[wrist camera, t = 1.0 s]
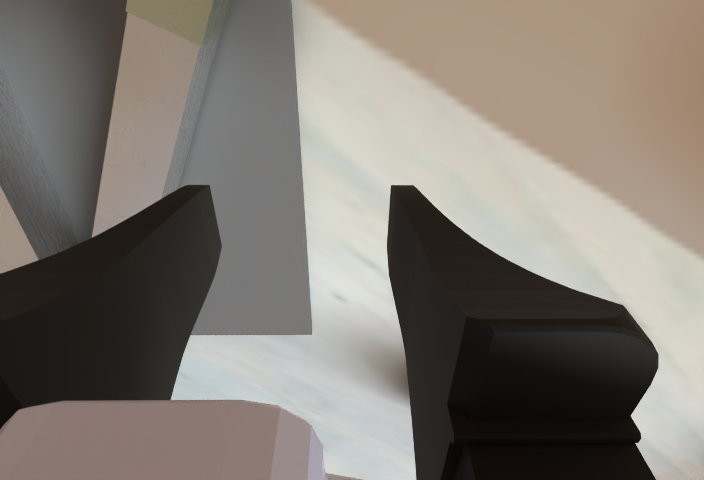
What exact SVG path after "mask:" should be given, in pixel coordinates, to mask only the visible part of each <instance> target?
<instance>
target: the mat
mask: <svg viewBox="0 0 704 480" xmlns="http://www.w3.org/2000/svg"><path fill="white" fill-rule="evenodd" d="M126 5H127V0H0V61H1V63H2V66H3V68H4V70H5V73H6V75H7V77H8V79H9V82H10V84H11V86H12V89H13V91H14V93H15V96H16V98H17V100H18V102H19V105H20V107H21V109H22V112H23V114H24V116H25V119H26V121H27V123H28V125H29V128H30V130H31V132H32V135H33V137H34V139H35V142H36V144H37V146H38V148H39V151H40V153H41V155H42V158H43V160H44V162H45V165H46V167H47V169H48V171H49V174H50V176H51V178H52V181H53V183H54V185H55V187H56V190H57V192H58V194H59V197H60V199H61V201H62V204H63V206H64V208H65V210H66V213H67V215H68V217H69V220H70V222H71V224H72V227H73V229H74V231H75V233H76V236H77V238H78V240H79V243H82V242H84V241H86V240H88V239H90V238H92V233H93V227H94V221H95V214H96V208H97V202H98V195H99V189H100V183H101V177H102V170H103V164H104V158H105V151H106V145H107V139H108V133H109V126H110V120H111V114H112V108H113V101H114V95H115V89H116V82H117V76H118V70H119V64H120V57H121V51H122V45H123V38H124V32H125V26H126V20H127V13H128V12H126ZM186 185H210V189H211V194H212V199H213V204H214V209H215V214H216V219H217V224H218V229H219V234H220V239H221V243H222V249H221V253H220V258H219V262H218V266H217V270H216V274H215V277H214V279H213V282H212V285H211V287H210V289H209V292H208V294H207V297H206V299H205V302H204V304H203V306H202V309H201V311H200V313H199V316H198V318H197V321H196V323H195V325H194V328H193V330H192V332H191V335H312V320H311V304H310V289H309V273H308V257H307V241H306V226H305V210H304V194H303V178H302V163H301V147H300V131H299V115H298V100H297V84H296V68H295V53H294V37H293V21H292V5H291V0H231V4H230V7H229V11H228V14H227V18H226V22H225V25H224V29H223V31H222V32H221V34H220V37H219V41H218V45H217V48H216V52H215V56H214V59H213V63H212V66H211V70H210V74H209V77H208V81H207V85H206V88H205V92H204V96H203V99H202V103H201V106H200V110H199V114H198V117H197V121H196V125H195V128H194V132H193V135H192V139H191V143H190V146H189V150H188V154H187V157H186V161H185V164H184V168H183V172H182V175H181V179H180V183H179V186H178V189H179V188H181V187H183V186H186Z"/></svg>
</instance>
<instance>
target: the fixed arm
mask: <svg viewBox="0 0 704 480" xmlns="http://www.w3.org/2000/svg"><path fill="white" fill-rule="evenodd" d="M77 244H79V240H78V238H77V236H76V233H75V231H74V229H73V227H72V224H71V222H70V220H69V217H68V215H67V213H66V210H65V208H64V206H63V204H62V201H61V199H60V197H59V194H58V192H57V190H56V187H55V185H54V183H53V181H52V178H51V176H50V174H49V171H48V169H47V167H46V165H45V162H44V160H43V158H42V155H41V153H40V151H39V148H38V146H37V144H36V142H35V139H34V137H33V135H32V132H31V130H30V128H29V125H28V123H27V121H26V119H25V116H24V114H23V112H22V109H21V107H20V105H19V102H18V100H17V98H16V96H15V93H14V91H13V89H12V86H11V84H10V82H9V79H8V77H7V75H6V73H5V70H4V68H3V66H2V63H1V61H0V273H4V272H7V271H10V270H13V269H15V268H18V267H21V266H24V265H27V264H29V263H32V262H35V261H38V260H40V259H43V258H46V257H49V256H51V255H54V254H56V253H59V252H61V251H63V250H66V249H68V248H70V247H73V246H75V245H77Z"/></svg>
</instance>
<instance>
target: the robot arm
mask: <svg viewBox="0 0 704 480" xmlns="http://www.w3.org/2000/svg"><path fill="white" fill-rule="evenodd" d="M221 249H222V243H221V239H220V234H219V229H218V224H217V219H216V214H215V209H214V204H213V199H212V194H211V189H210V185H186V186H183V187H181V188H179V189H177V190H175V191H174V192H172V193H170V194H168V195H167V196H165V197H163V198H162V199H160V200H158V201H157V202H155V203H153V204H152V205H150V206H148V207H147V208H145V209H143V210H142V211H140V212H138V213H137V214H135V215H133V216H132V217H130V218H128V219H126V220H124V221H122V222H121V223H119V224H117V225H115V226H113V227H111V228H110V229H108V230H106V231H104V232H102V233H100V234H98V235H96V236H94V237H92V238H90V239H88V240H86V241H84V242H82V243H79V244H77V245H75V246H73V247H70V248H68V249H66V250H63V251H61V252H59V253H56V254H54V255H51V256H49V257H46V258H43V259H40V260H38V261H35V262H32V263H29V264H27V265H24V266H21V267H18V268H15V269H13V270H10V271H7V272H4V273H0V480H361V479H356V478H350V477H344V476H339V475H333V474H327V473H325V470H324V457H323V446H322V444H321V442H320V440H319V439H318V437H317V435H316V433H315V431H314V429H313V428H312V426H311V425H310V424H309V423H308V422H306V421H305V420H303V419H302V418H300V417H298V416H296V415H294V414H292V413H291V412H289V411H287V410H285V409H283V408H281V407H279V406H277V405H271V404H264V403H258V402H251V401H244V400H171V396H172V392H173V388H174V384H175V381H176V377H177V374H178V370H179V367H180V363H181V360H182V357H183V353H184V351H185V348H186V345H187V342H188V340H189V337H190V335H191V332H192V330H193V328H194V325H195V323H196V321H197V318H198V316H199V313H200V311H201V309H202V306H203V304H204V302H205V299H206V297H207V294H208V292H209V289H210V287H211V285H212V282H213V279H214V277H215V274H216V270H217V266H218V262H219V258H220V253H221ZM387 254H388V267H389V277H390V282H391V286H392V291H393V296H394V300H395V305H396V310H397V314H398V319H399V323H400V328H401V333H402V337H403V343H404V349H405V355H406V365H407V375H408V384H409V395H410V405H411V416H412V427H413V439H414V452H415V464H416V478H417V480H656V479H655V477H654V475H653V474H652V472H651V470H650V468H649V467H648V465H647V463H646V462H645V460H644V458H643V456H642V455H641V453H640V451H639V449H638V448H637V446H636V444H635V443H638V442H639V441H640V439H641V433H640V431H639V429H638V428H637V426H636V425H635V423H634V421H633V420H632V418H631V414H632V412H633V411H634V409H635V408H636V406H637V405H638V403H639V402H640V400H641V399H642V397H643V396H644V394H645V393H646V391H647V389H648V388H649V386H650V385H651V383H652V381H653V378H654V376H655V374H656V372H657V369H658V353H657V351H656V349H655V347H654V345H653V343H652V342H651V340H650V339H649V338H648V337H647V335H646V334H645V333H644V331H643V330H642V329H641V327H640V326H639V325H638V323H637V322H636V321H635V320H634V318H633V317H632V316H631V314H630V313H629V312H628V311H627V309H626V308H625V307H624V306H623V305H620V304H617V303H614V302H611V301H608V300H605V299H601V298H598V297H595V296H592V295H589V294H586V293H583V292H579V291H576V290H574V289H571V288H568V287H566V286H563V285H561V284H558V283H556V282H553V281H551V280H548V279H546V278H543V277H541V276H539V275H537V274H534V273H532V272H530V271H528V270H526V269H524V268H522V267H520V266H518V265H516V264H514V263H512V262H510V261H508V260H507V259H505V258H503V257H501V256H499V255H498V254H496V253H494V252H493V251H491V250H490V249H488V248H487V247H485V246H483V245H482V244H480V243H479V242H477V241H476V240H474V239H473V238H472V237H470V236H469V235H468V234H466V233H465V232H464V231H462V230H461V229H460V228H459V227H457V226H456V225H455V224H454V223H453V222H451V221H450V220H449V219H448V218H447V217H446V216H444V215H443V214H442V213H441V212H440V211H439V210H438V209H437V208H436V207H435V206H434V205H433V204H432V203H431V202H430V201H429V200H428V199H427V198H426V197H425V196H424V195H423V194H422V193H421V192H420V191H419V190H418V189H417V188H416V187H415V186H413V185H391V194H390V209H389V223H388V238H387Z"/></svg>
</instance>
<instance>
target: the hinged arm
mask: <svg viewBox="0 0 704 480" xmlns="http://www.w3.org/2000/svg"><path fill="white" fill-rule="evenodd" d="M230 4H231V0H127V5H126V12H128V13H127V20H126V26H125V32H124V38H123V45H122V51H121V57H120V64H119V70H118V76H117V82H116V89H115V95H114V101H113V108H112V114H111V120H110V126H109V133H108V139H107V145H106V151H105V158H104V164H103V170H102V177H101V183H100V189H99V195H98V202H97V208H96V214H95V221H94V227H93V233H92V237H94V236H96V235H98V234H100V233H102V232H104V231H106V230H108V229H110V228H111V227H113V226H115V225H117V224H119V223H121V222H122V221H124V220H126V219H128V218H130V217H132V216H133V215H135V214H137V213H138V212H140V211H142V210H143V209H145V208H147V207H148V206H150V205H152V204H153V203H155V202H157V201H158V200H160V199H162V198H163V197H165V196H167V195H168V194H170V193H172V192H174V191H175V190H177V189H178V186H179V183H180V179H181V175H182V172H183V168H184V164H185V161H186V157H187V154H188V150H189V146H190V143H191V139H192V135H193V132H194V128H195V125H196V121H197V117H198V114H199V110H200V106H201V103H202V99H203V96H204V92H205V88H206V85H207V81H208V77H209V74H210V70H211V66H212V63H213V59H214V56H215V52H216V48H217V45H218V41H219V37H220V34H221V32H222V31H223V29H224V25H225V22H226V18H227V14H228V11H229V7H230Z"/></svg>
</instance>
